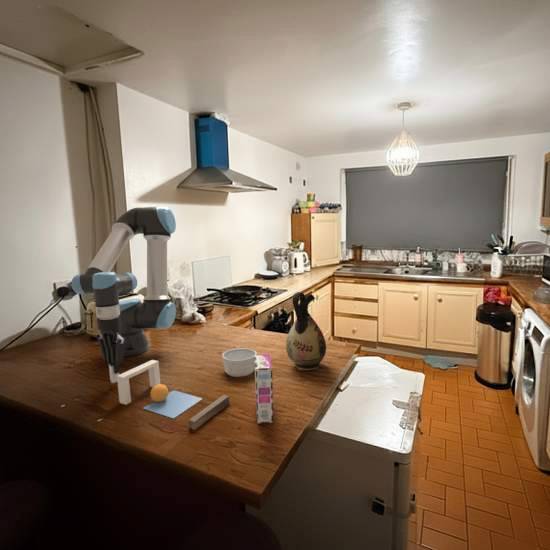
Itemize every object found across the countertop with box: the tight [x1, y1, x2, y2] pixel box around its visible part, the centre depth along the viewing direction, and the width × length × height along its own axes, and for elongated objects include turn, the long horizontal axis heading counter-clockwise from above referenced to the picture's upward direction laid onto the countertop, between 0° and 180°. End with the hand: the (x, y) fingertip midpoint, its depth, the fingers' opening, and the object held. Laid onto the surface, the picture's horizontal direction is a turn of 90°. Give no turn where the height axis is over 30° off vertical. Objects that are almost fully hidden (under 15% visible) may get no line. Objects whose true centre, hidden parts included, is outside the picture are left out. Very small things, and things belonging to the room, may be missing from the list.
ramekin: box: [221, 347, 258, 378], centre depth 136 cm, size 13×13×7 cm
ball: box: [149, 383, 169, 402], centre depth 115 cm, size 6×6×6 cm
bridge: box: [116, 359, 161, 406], centre depth 120 cm, size 3×14×9 cm, turn 151°
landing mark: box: [142, 389, 204, 420], centre depth 113 cm, size 13×13×1 cm
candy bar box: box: [254, 354, 274, 425], centre depth 105 cm, size 11×5×16 cm, turn 5°
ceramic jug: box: [285, 291, 327, 371], centre depth 136 cm, size 17×15×30 cm
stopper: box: [188, 394, 230, 431], centre depth 106 cm, size 2×16×2 cm, turn 151°
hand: (115, 381), depth 126 cm, fingers closed
